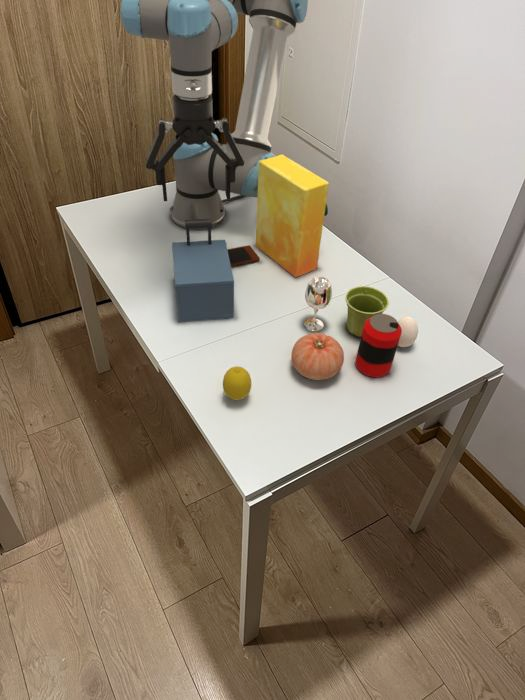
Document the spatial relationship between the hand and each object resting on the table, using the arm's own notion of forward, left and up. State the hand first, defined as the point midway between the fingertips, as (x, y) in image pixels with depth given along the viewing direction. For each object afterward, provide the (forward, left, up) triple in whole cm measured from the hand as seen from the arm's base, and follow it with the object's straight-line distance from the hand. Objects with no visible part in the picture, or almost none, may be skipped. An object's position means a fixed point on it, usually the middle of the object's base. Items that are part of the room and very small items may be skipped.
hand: (196, 197), depth 116 cm
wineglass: (-13, +28, -23) cm, 39 cm away
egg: (-25, +44, -23) cm, 56 cm away
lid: (+3, +6, -13) cm, 15 cm away
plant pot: (-21, +35, -23) cm, 47 cm away
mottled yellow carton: (-27, +3, -23) cm, 36 cm away
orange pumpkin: (-4, +39, -23) cm, 46 cm away
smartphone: (-11, -4, -23) cm, 26 cm away
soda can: (-15, +45, -23) cm, 53 cm away
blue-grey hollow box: (+3, +6, -23) cm, 24 cm away
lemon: (+14, +36, -23) cm, 45 cm away
